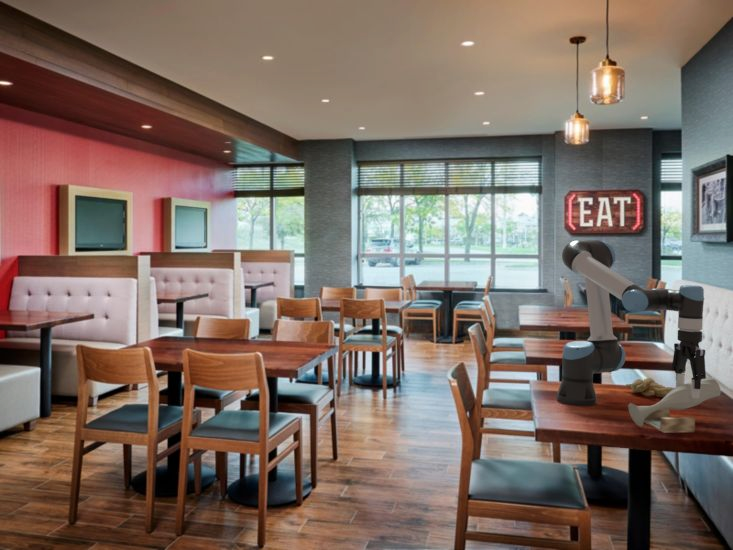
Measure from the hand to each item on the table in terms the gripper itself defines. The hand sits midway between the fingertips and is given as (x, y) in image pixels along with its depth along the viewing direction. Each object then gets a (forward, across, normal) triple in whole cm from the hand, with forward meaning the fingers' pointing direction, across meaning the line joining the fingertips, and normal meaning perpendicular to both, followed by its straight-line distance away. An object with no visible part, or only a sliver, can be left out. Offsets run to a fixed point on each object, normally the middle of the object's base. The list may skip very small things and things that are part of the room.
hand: (687, 394), depth 212 cm
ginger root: (+11, +41, -10) cm, 44 cm away
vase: (+7, 0, +19) cm, 20 cm away
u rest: (+11, 0, +8) cm, 13 cm away
